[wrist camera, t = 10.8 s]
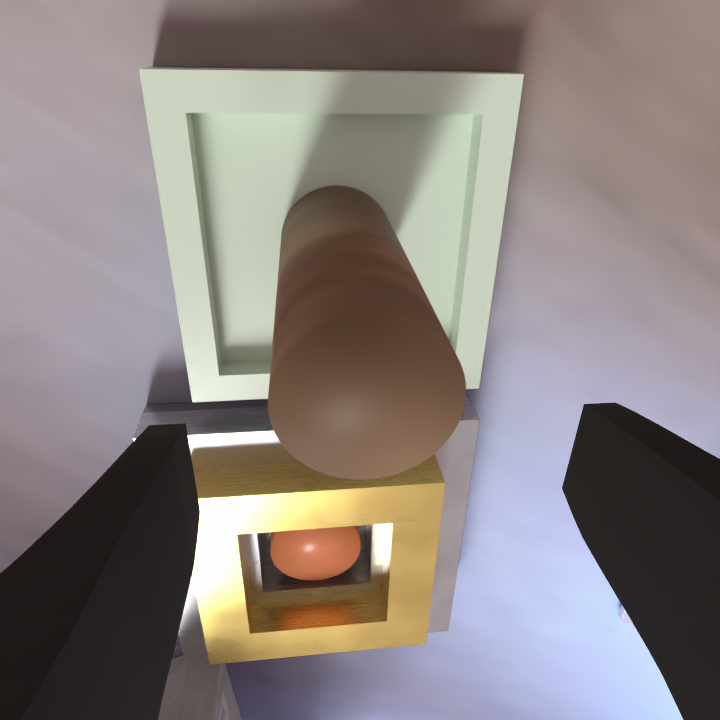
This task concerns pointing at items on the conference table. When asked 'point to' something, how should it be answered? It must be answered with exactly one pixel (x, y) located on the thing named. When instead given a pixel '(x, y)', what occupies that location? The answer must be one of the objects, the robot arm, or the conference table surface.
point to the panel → (313, 511)
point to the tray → (316, 170)
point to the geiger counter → (198, 691)
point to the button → (315, 551)
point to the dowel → (356, 345)
